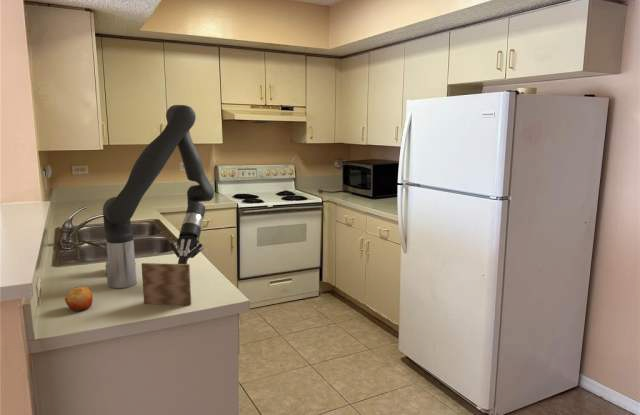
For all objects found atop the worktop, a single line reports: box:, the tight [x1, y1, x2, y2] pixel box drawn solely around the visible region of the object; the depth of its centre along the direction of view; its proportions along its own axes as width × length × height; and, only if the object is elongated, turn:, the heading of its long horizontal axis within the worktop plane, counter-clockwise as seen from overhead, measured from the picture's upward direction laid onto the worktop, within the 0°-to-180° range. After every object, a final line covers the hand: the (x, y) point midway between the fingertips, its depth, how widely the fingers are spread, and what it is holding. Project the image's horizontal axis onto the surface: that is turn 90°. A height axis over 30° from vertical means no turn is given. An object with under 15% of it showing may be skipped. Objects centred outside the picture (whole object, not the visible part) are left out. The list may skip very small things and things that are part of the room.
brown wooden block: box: [141, 262, 192, 306], centre depth 153 cm, size 16×6×14 cm, turn 87°
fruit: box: [64, 286, 94, 311], centre depth 148 cm, size 8×8×8 cm
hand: (181, 266), depth 164 cm, fingers closed
